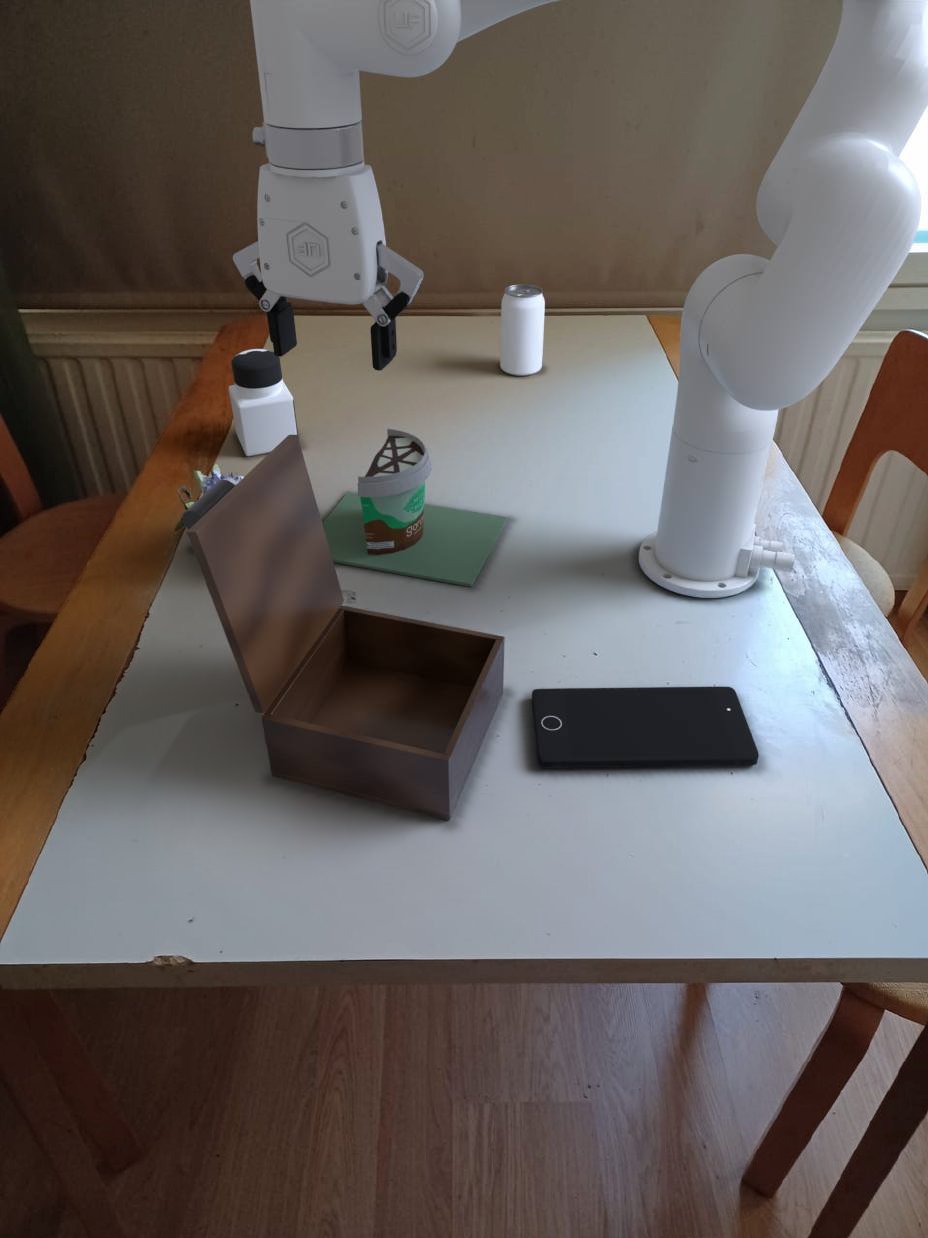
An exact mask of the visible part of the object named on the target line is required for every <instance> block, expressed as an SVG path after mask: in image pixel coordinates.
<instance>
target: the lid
mask: <svg viewBox="0 0 928 1238" xmlns="http://www.w3.org/2000/svg"><path fill="white" fill-rule="evenodd" d="M298 437H299V434H298V435H288V436H287V437H286V438H285V439H284V440H283V441H282V442H281V443H280V444H279V445H277V446H276V447H275V448H274V449H273V450H272V451H271V452H270V453H267V455H265V457H263V459H262V460H260V461H259V462H258V463H257V464H256V465H255V466H254V467H253V468H252V469H251V470H250V471H249V472H248V473H247V474H246V475H245V476H244V478H243V479H242V480H241V481H240V482H239V483H238V484H237V485H234V484H233V483H232V482H230V481H228V480H220V481H218V482H217V483H216V484H215V485H214V486H212V487H211V488H210V489H209V490H208V491H207V492H206V493H205V494H204V495H203V494H202V495H201V497H198V498H199V499H198V500H197V499H196V501H194V502H195V503H194V504H193V505H192V506H191V507H190V508H189V509H187V510H185V511H184V512H183V514H182V515H181V518H182V521H183V524H184V526H183V527H185V529H187V531H186V534H187V538H188V540H189V542H190V545H191V549H192V552H193V553H194V556H195V559H196V561H197V563H198V566H199V569H200V571H201V573H202V577H203V580H204V582H205V585H206V588H207V590H208V592H209V595H210V598H211V601H212V603H213V606H214V609H215V611H216V613H217V616H218V619H219V622H220V624H221V627H222V629H223V632H224V634H225V637H226V640H227V643H228V645H229V648H230V650H231V653H232V656H233V658H234V661H235V663H236V665H237V668H238V671H239V674H240V676H241V679H242V682H243V684H244V688H245V690H246V692H247V695H248V698H249V700H250V703H251V705H252V708H253V710H254V713H255V714H262V715H263V714H264V713H265V712H266V710H267V709H268V707H269V706H270V705H271V703H272V702H273V700H274V699H275V698H276V696H277V695H278V693H279V692H280V691H281V689H282V688H283V686H284V685H285V684H286V682H287V681H288V679H289V678H290V676H291V675H292V674H293V672H294V671H295V669H296V668H297V667H298V665H299V664H300V662H301V661H302V660H303V658H304V657H305V655H306V654H307V653H308V651H309V650H310V648H311V647H312V646H313V644H314V643H315V641H316V640H317V639H318V637H319V636H320V634H321V633H322V631H323V630H324V629H325V627H326V626H327V624H328V623H329V622H330V620H331V619H332V617H333V616H334V615H335V613H336V612H337V610H338V609H339V608H340V606H341V605H342V606H343V604H344V603H345V599H344V596H343V592H342V588H341V585H340V582H339V577H338V575H337V571H336V566H335V562H333V560H332V556H331V553H330V549H329V545H328V542H327V538H326V535H325V531H324V528H323V524H322V523H323V521H322V517H321V514H320V511H319V507H318V504H317V500H316V497H315V496H316V495H315V492H314V489H313V485H312V481H311V478H310V475H309V470H308V467H307V464H306V460H305V456H304V454H303V450H302V447H301V443H300V439H298Z"/></svg>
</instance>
